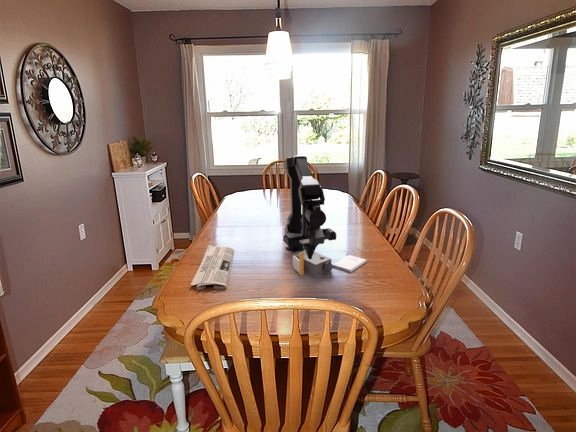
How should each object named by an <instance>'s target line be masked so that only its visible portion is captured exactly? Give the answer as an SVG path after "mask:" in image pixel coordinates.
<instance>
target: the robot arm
mask: <svg viewBox="0 0 576 432" xmlns="http://www.w3.org/2000/svg"><path fill="white" fill-rule="evenodd" d="M283 164H284V169H285V173H286V174H287V176H288V178H289V189H290V190H289V191H290V193H289V194H290V214H289V216H288V217H287V219H286V224H285V226H284V227H285V228H284V235H283V237H282V238H283V239H282V241H283V242H284V243H285V244H286V245H287V246H285V249H286V250H288V251H291V252H292V253H297V252H300V251H301V252H302V251H303V250H304V251H306V254H307V256H308V259H312V256H313V254H314V252H316V249H317V247H318V245H323V244H325V240H328V241H335V240H336V239H337V233H336V231H334V230H333V229H332V228H330V227H327V228H321V227H322V226H323V225H324V224H325V223H326V221H327V215H326V213H325V212H324V211H323V210H322V209H321V206H323V205H325V200H326V198H325V193H324V189H323V188H322V186H321V184H320V183H319V181H318V180H317V179H316V178H314V177H313V175H312V173H311V170H310V167H309V164H308V158H307V155H304V154H302V155H301V154H300V155H293V156H290V157H287V158H286V159H284V163H283Z"/></svg>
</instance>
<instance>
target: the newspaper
mask: <svg viewBox="0 0 576 432" xmlns="http://www.w3.org/2000/svg"><path fill="white" fill-rule="evenodd" d="M206 248H207V249H206V251H205V253H204V256H203V257H202V260H201V263H200V265H199V267H198V269H197V271H196V273H195V275H194V277H193V279H192V280H191V283H190V286H195V285H196V288H195V289H196V290H198V291H199V290H204V289H206V286H207V285H213V289H224V290H225V289H227V288H228V282H229V277H230V273H231V268H232V262H233V260H234V253H235V249H234V248H233V247H231V246H226V245H225V246H224V245H223V246H222V245H221V246H216V245H215V246H213V245H210V244H208V245H207V247H206Z"/></svg>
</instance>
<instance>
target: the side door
mask: <svg viewBox="0 0 576 432" xmlns="http://www.w3.org/2000/svg"><path fill="white" fill-rule="evenodd" d="M303 252H304V251H301V252H300V251H299V259H298V258H297V257H296V256H295V254H292V260H291V261H292V263H291V265H292V267H291V268H293V269H294V270H295V271H296V272H297V273H298V275H300V276H304V274H305V272H304V253H303Z"/></svg>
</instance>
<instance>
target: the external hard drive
mask: <svg viewBox="0 0 576 432" xmlns="http://www.w3.org/2000/svg"><path fill="white" fill-rule="evenodd" d="M367 261H368V260H367V259H365V258H362V257H359V256H355V255H351V254H349V255H347V256H345V257H343V258H342V259H340V260H338V261H336V262H335V263H333V264H332V268H334V269H337V270H341V271H345V272H347V273H353V272H354V271H355V270H357V269H358V268H360V267H362V266H363V265H364V264H366V263H367Z"/></svg>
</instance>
